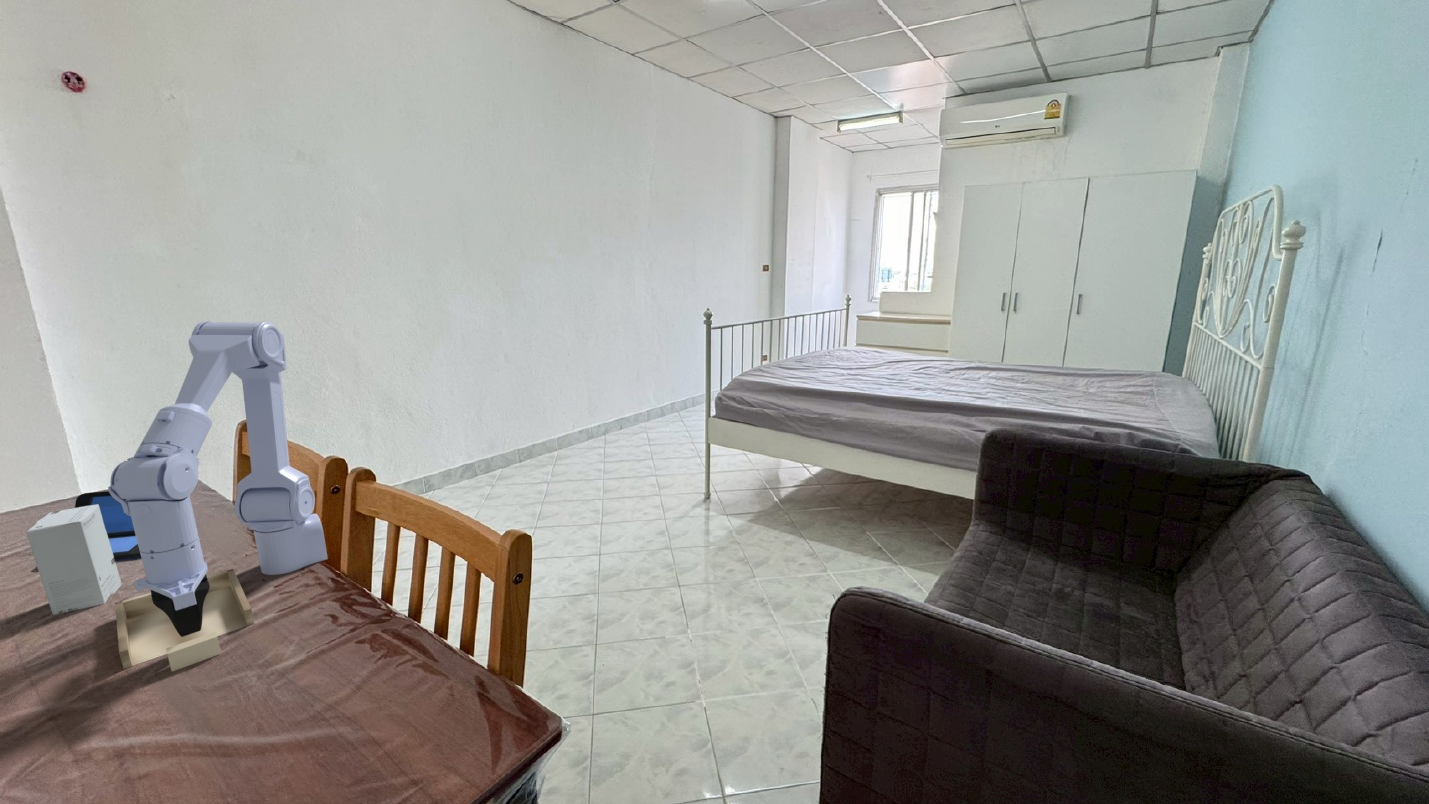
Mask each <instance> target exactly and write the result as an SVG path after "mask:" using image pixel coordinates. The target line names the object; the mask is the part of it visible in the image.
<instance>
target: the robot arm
mask: <svg viewBox="0 0 1429 804" xmlns="http://www.w3.org/2000/svg"><path fill="white" fill-rule="evenodd" d="M285 344H286V343H285V337H284V334H283V333H282V332H281V331H280V330H279V328H278V327H276V325H274V324H273V323H272V322H270V321H261V322H242V321H241V322H233V321H232V322H231V321H230V322H227V321H226V322H221V321H220V322H218V321H217V322H215V321H214V322H212V321H210V320H204V321H200V322H199V323H197V324H196V325H195V326H194V328H193V330H192V332H191V335H190V338H189V339H188V347H189V350H190V353H191V355H192V357H193V358H192V360H191V363H190V365H189V368H188V370H187V373H186V375H185V378H184V380H183V383H182V385H181V387H180V390H179V392H178V395H177V397H176V400H175V403H174V404H171V405H169V406H165V407H162V408H160V409H158V412H157V414H156V416H155V417H154V419H153V420H152V423H151V425H150V426H149V428H148V430H147V431H146V434H145V435H144V437H143V439H142V441H141V442H140V444H139V446H138V448H137V450H136V451H135V453H134V455H133V456H132V457H129V458H127V460H123V461H122V462H120V463H119V464H117V465H116V466H115V468H114V469H113V470H112V472H111V475H110V481H109V482H110V486H108V487H107V489H108V491H109V492H110V494H111V496H112V497H113V498H114V499H115V500H117V501H118V502H120V503H121V505H122V507H123V510H124V513H126V514H127V515H129V516H131V518H132V522H133V526H134V530H135V534H136V538H137V542H138V546H139V550H140V554H141V558H140V559H141V562H142V565H143V569H144V574H145V577H144V578H141V579H138V580H136V581H135V582H134V588H135V590H136V591H138V592H139V591H143V590H147V589H149V590H150V593H151V596H152V601H153V604H154V605H155V606H156V607H158V608H159V609H161V610H162V611H163V612H165V613H166V615H167V616H168V617H169V618H170V620H171V622H172V623H173V625H174V627H175V629H176V631H177V632H178V634H179V635H180V636H181V637H184V636H187V635H189V634H192V633H195V632H198V631H200V630H201V627H202V614H203V604H204V600H205V597H206V595H207V593H208V591H209V588H210V585H209V582H208V581H207V580H208V579H207V576H208V575H207V573H208V571H209V569H208V568H209V566H208V564H207V563H206V562H205V560H204V555H203V550H202V545H201V541H200V536H199V533H198V527H197V522H196V519H195V518H196V517H195V514H194V509H193V505H192V500H191V494H192V493H193V492H194V491H195V490H194V489H195V488H196V486H197V484H198V482H199V465H200V458H199V457H198V455H199V453H200V451H201V448H202V446H203V444H204V442H205V439H207V436H208V434H209V433H210V430H211V428H212V425H213V422H212V421H213V420H212V419H211V417H210V416H209V414H208V411H209V409H210V408H211V407H212V404H213V403H214V401H215V400H216V398H217V396H218V395H219V394H220V392H221V390H222V389H223V387H224V386H225V384H226V382H227V381H228V379H229V378H230V376H231V375H232V374H233V375H235V376H236V377H237V378H239V379H240V380H241V383H242V391H243V392H242V394H243V401H244V412H245V420H246V423H245V424H246V430H247V440H248V449H249V450H248V451H249V459H250V469H251V471H250V473H249V474H248V475H246V476H245V477H244V478H242V479H241V480H240V481H239V482H238V483H237V484H236V491H237V492H236V498H235V500H234V501H235V502H234V512H235V513H234V514H235V515H236V517H237V519H238V520H239V522H240V523H242V524H246V525H247V529H248V530H253V535H254V539H255V540H254V541H255V545H256V550H257V555H258V556H257V557H258V560H259V566H260V571H261V573H262V574H264V575H268V576H275V575H276V576H278V575H283V574H288V573H292V572H295V571H298V570H300V569H302V568H305V567H307V566H310V565H313V564H316V563H320V562H322V561H325V560H328V553H327V546H326V539H325V534H324V528H323V524H322V522H321V519H320V517H319V515H318V514H317V513H313V512H314V510H315V506H316V505H315V504H316V498H315V497H316V496H315V493H314V490H313V489H312V487H311V482H310V477H309V475H307V474H305V473H303V472H302V471H299V470H298V469H296V468H294V467H292V466H291V465H290V456H289V446H288V437H287V436H288V432H287V425H286V412H285V403H284V391H283V381H282V372H284V371H285V370H287V357H286V356H287V355H286V345H285Z"/></svg>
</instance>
